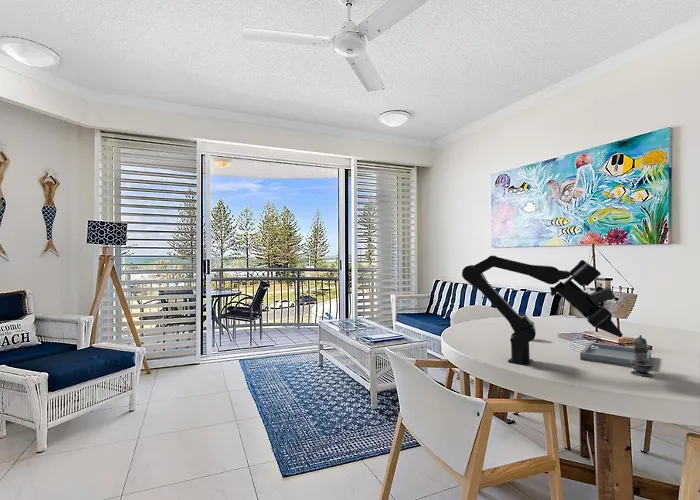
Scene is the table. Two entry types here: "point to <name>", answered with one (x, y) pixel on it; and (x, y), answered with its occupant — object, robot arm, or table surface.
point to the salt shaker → (641, 359)
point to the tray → (610, 354)
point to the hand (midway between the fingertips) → (618, 332)
